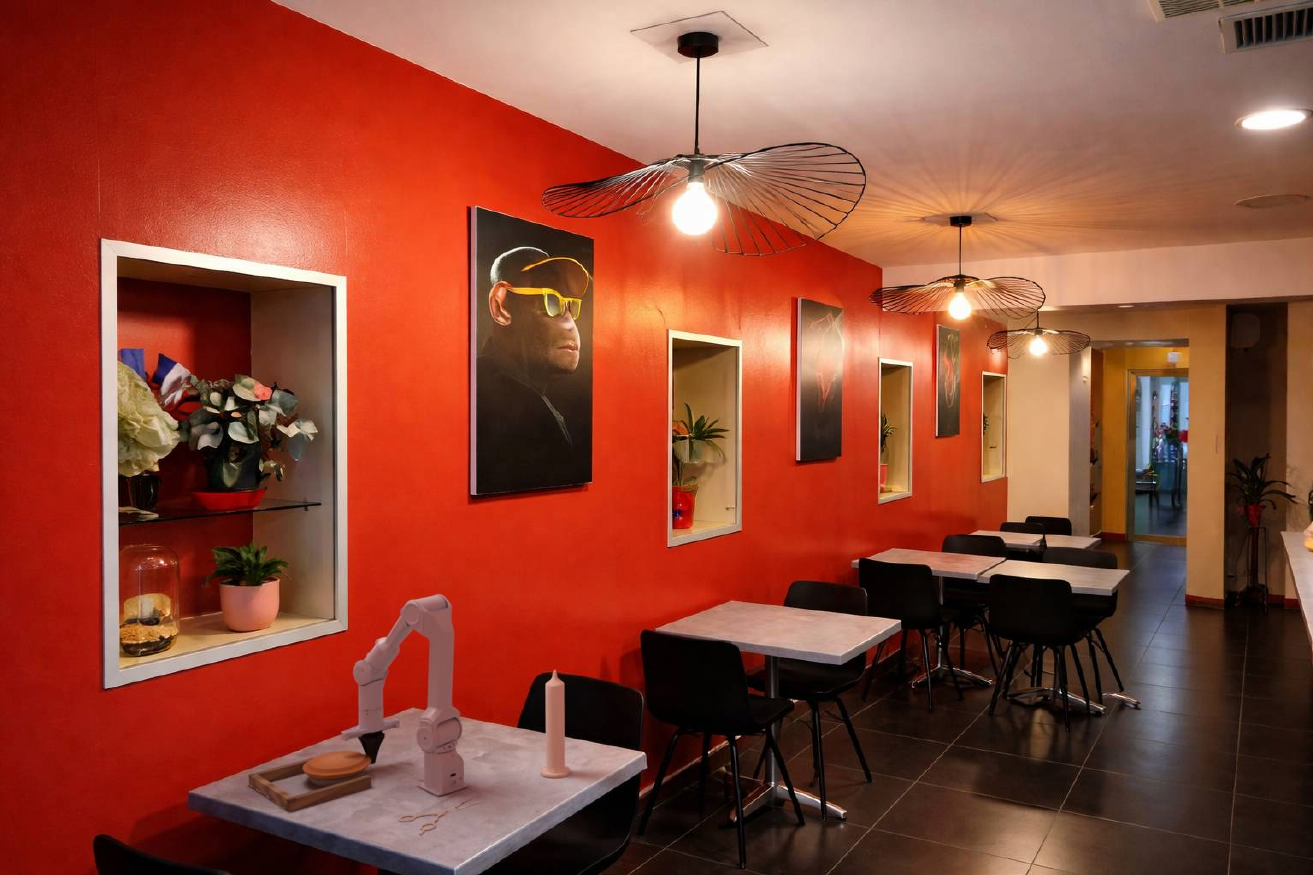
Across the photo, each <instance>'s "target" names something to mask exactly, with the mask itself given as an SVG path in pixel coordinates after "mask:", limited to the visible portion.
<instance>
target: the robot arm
mask: <svg viewBox="0 0 1313 875" xmlns="http://www.w3.org/2000/svg"><path fill="white" fill-rule="evenodd" d="M452 616H453V605H452V604H451V603H450V601H449V600H448V599H447V597H446V596H444V595H442V594H439V593H438V594H437V593H436V594H434V595H431V596H427V597H421V598H417V599H410V600H408V601H406V603H405V605H404V606H403V607H402V608H401V609H400V615H399V618H398V619H397V621H396V622H395V624H394V625H393V627H392V629H391V630H390V631H389V633H388V635H387V636H384V637H380V638H378V639H376V640H375V642H374V643H375V645H374V646H373V648H372V649H371V650H370V652H367V653H366V657H365V658H364V659H363V660H358V661H356V662H355V665H353V670H352V674H353V679H354V681H355V682H356V683H357V684H358V725H356V726H354V727H353V726H352V727H350V728H349V729H346V730H343V731H341V737H340V738H341V740H343V741H344V742H348V741H350V740H351V739H355V738H357V739H358V741H359V742H360V744H361V746H362V748H363V751H364V754H365V755H367V756H369V757H370V759H371V764H370V765H374V764H376V763H377V758H378V755H379V750H380V748H381V745H382V743H383V742H384V740H385V738H386V734H385V731H387V730H391V729H399V728H400V727H401V726H400V725H401V724H400V719H398V718H391V719H390V718H389V719H384V696H383V695H384V691H383V690H384V687H385V685H386V683H385V682H386V678H387V676H388V674H389V667H390V665H391V664H392V663H393V661H394V660H395V659H396V658H397V656H398V655H399V653H400V645H401V643H402V642H403V641H404V640H405V639H406V638H407V637H408V636H409V634H410V633H411V632H412V631H413V630H414V631H416V632H417V633H419V634H420V635H421V636H422V637H425V638H426V639H428V641H429V654H428V655H429V656H428V657H429V658H428V685H427V686H428V687H427V689H428V690H427V708H426V709H425V710H424V712H423V713H422V715H421V716H420V718H419V724H418V725H419V726H418V728H417V730H416V736H415V738H416V742H417V744H418V746H419V747H420V749H421V752H423V775H424V776H423V778H424V779H423V780H424V781H420V782H418V783H416V786H417V787H419V788H421V789H422V790H424V791H427V792H429V793H431V794H432V795H435V796H437V797H440V796H443V795H446V794H450V793H452V792H455V791H460V790H462V789H464V788H467V787H468V784H466V783H465V768H464V767H465V762H464V758H463V757H462V756H461V755H460V754H459V753H458V752H457V746H458V741H459V740H460V738H461V737H462V736H463V732H464V731H463V725H462V722H461V712H460V711H459V710H458V709H457V708H456V707H455V706H453V684H454V682H453V681H454V679H453V678H454V676H453V675H454V654H455V653H454V652H455V649H454V648H455V646H454V645H455V630H454V625H453V621H452ZM383 731H384V732H383Z"/></svg>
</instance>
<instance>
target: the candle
mask: <svg viewBox="0 0 1313 875" xmlns="http://www.w3.org/2000/svg"><path fill="white" fill-rule="evenodd" d="M565 713H566V712H565V682H564V681H562V680H561V679H560V678H559V677H558V674H557V670H556V669H554V670H553V672H552V677H551V679H550V680H548V681H547V682H546V683H545V766H544V767H542V768H541V770H540V774H541V776H542V777H544V778H548V779H561V778H564V777H567V776H569V775H570V773H571V768H570V767H569V766H567V765H566V758H565V757H566V756H565V755H566V750H565V748H566V743H565V742H566V741H565V740H566V738H565V737H566V735H565V733H566V732H565V727H566V726H565V725H566V724H565V722H566V720H565Z"/></svg>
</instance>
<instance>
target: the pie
mask: <svg viewBox="0 0 1313 875" xmlns="http://www.w3.org/2000/svg"><path fill="white" fill-rule="evenodd" d="M314 757H315V758H314ZM314 757H312V758H313V759H312V760H310V761H308V762H307V763H306V764H304V766H303V771H304V773H305V775H306V776H308V779H309V780H310V781H311V782H312V784H314V785H315V786H318V787H322V788H324V787H328V786H331V785H335V784H338V783H342V782H345V781H349V780H352V779H356V778H359V777H362V776H364V773H365V771H366V769H367V768H368V767H369V766H371V765H372V764H371V759H370V757H369V756H367V755H366V754H365V753H361V752H360V751H355V750H337V751H331V752H330V751H329V752H326V753H322V754H320V755H317V756H314Z"/></svg>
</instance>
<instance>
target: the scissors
mask: <svg viewBox="0 0 1313 875" xmlns="http://www.w3.org/2000/svg"><path fill="white" fill-rule="evenodd" d="M472 798H473V796H472V797H469V798H467V799H465V800H463V801H462V802H464V803H465V801H466V802H467V801H469V800H470V799H472ZM460 804H461V803H460V802H459V803H458V802H457V804H454V805H451V807H456V808H459V806H460V807H461V805H462V804H461V805H460ZM474 804H475V803H473V806H475V805H474ZM471 806H472V804H469V806H468V805H464V806H463V807H466V808H470V807H471ZM456 808H455V809H456ZM451 810H453V809H450V807H448V808H446V809H444V810H443V809H441V810H439V811H435V812H431V813H421V814H404V815H402V816H400V817H398V819H397V820H398V822H400V823H408V822H409V821H410V822H414V821H415V820H416V819H417V818H418V817H419V818H421V817H428V816H429V817H430V815H433V817H434V815H435V816H436V818H435V819H434V820H432V821H429V822H426V823H425V822H424V823H422V824H421V825H420V827H419V830H420V832H419V833H418V836H423V834H424V833H426V832H428V831H432V830H434V829H436V826H437V825H436V823H437V822H439V819H440V818H441V817H443V816H444V814H445V815H447V814H449V813H452V811H451ZM456 811H459V809H456ZM453 812H455V811H454V810H453ZM446 813H447V814H446ZM411 817H412V818H411ZM404 818H408V819H404ZM414 819H415V820H414ZM413 820H414V821H413ZM427 826H431V827H429V828H428V827H427ZM424 827H427V828H424Z"/></svg>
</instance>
